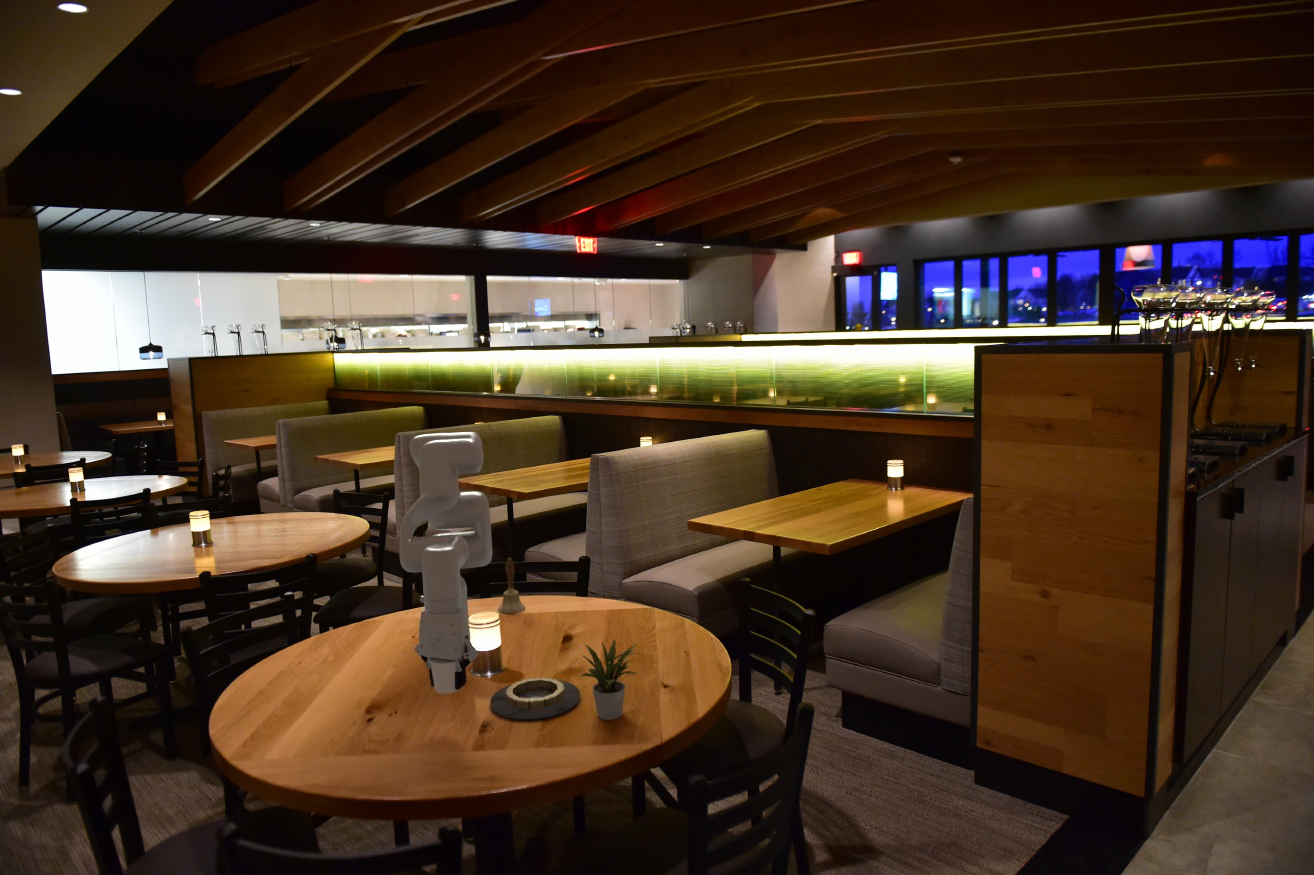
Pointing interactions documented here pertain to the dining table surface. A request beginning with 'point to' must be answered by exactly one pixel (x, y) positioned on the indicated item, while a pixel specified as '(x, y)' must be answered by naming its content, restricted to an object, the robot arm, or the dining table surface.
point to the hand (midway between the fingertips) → (448, 684)
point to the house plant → (609, 681)
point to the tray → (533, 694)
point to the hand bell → (511, 593)
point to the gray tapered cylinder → (444, 675)
